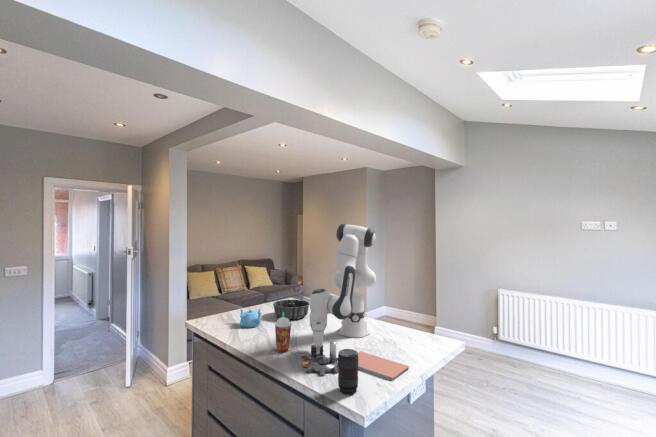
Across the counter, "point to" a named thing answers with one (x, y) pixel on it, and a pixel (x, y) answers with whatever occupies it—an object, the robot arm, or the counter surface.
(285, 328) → the smoothie
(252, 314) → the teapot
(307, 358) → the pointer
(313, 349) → the grey and orange block
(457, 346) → the counter surface
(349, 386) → the camera lens
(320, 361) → the sprocket
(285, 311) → the bundt pan
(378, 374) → the notebook
